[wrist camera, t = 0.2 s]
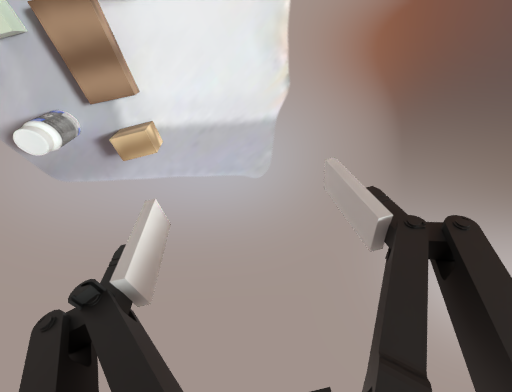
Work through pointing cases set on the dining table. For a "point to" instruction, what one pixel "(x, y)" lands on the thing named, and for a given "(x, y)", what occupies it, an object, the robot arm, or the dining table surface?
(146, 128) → the wooden block
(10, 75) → the dining table surface
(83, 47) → the brown cardboard box
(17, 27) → the tray
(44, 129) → the pill bottle
